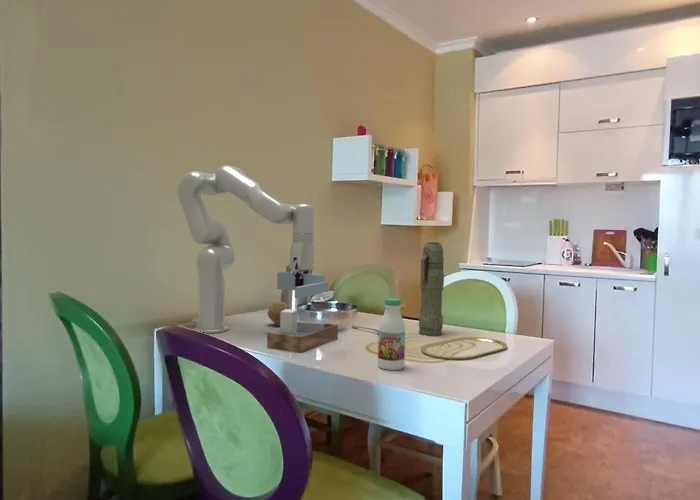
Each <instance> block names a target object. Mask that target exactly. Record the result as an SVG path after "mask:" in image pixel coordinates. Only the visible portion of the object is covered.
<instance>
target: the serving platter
mask: <svg viewBox="0 0 700 500" xmlns="http://www.w3.org/2000/svg"><path fill="white" fill-rule="evenodd" d="M463 340H473V341H472V342H482V341H486V342H485V343H489V342H493V343H492V344H494V343H497V344H500V345H502V346H503V348H502V347H500V348H497V349H494V350H489V351H485V352H481V353H478V354H477V353H476V354H473V355H469V356H468V355H467V356H449V355H440V354H435V353H431V352H427V350H426V349H427V348H430V347H434V346H439V345H444V344H448V343H452V342H457V341H463ZM463 342H464V341H463ZM497 344H496V345H497ZM500 345H499V346H500ZM444 346H445V345H444ZM507 346H508V343H506V342H504V341H502V340H498V339H493V338H489V337H482V336H480V337H478V336H462V337H461V336H460V337H455V338H451V339H446V340H442V341H437V342H431V343H428V344H427V343H426V344H424V345H422V346H421V348H420V349H421V351H422V352H423V353H424V354H425V355H426V354H427V356H429V357H431V356H432V358H435V357H436V358H437V359H440V358H442V359H441V360H449V359H451V361H454V360H455V361H463V360H464V359H466V360H471V358H472V359H475V357H476V358H480V357H482V356H486V355H490V353H491V354H494V352H495V353H498V351H499V352H502V351H504V350H505V349H506V348H507ZM425 350H426V352H425ZM464 361H465V360H464Z"/></svg>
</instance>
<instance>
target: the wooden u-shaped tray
mask: <svg viewBox="0 0 700 500" xmlns="http://www.w3.org/2000/svg"><path fill="white" fill-rule="evenodd" d="M327 323H328V322H325V324H324V328H323V329H320V330H317V331H314V332H311V333H305V334H303V335H297V336H295V335H288V334H281V333H280V332H272V331H268V332H267V336H266V337H267V338H266V339H267V340H266V341H267V343H266V346H267V347H266V348H267V349H274V350H280V351H281V350H282V351H285V352H286V351H288V352H293V353H300V354H301V353H304V352H307V351H310V350H313V349H315V348H317V347H320V346H322V345H325V344H328V343H330V342H333V341H335V340H337V339H339V338H338V337H339V325H338V324H335V323H329V324H327Z"/></svg>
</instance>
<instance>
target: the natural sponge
mask: <svg viewBox="0 0 700 500" xmlns="http://www.w3.org/2000/svg"><path fill="white" fill-rule="evenodd" d="M286 309H290V307H289V306H288V304H287V303H286V302H284V301H282V300H276V301H273V303H271V305H270V306H269V309H268V311H267V316H268V319H270V321H271V322H272V323H273V324H274V325H276V326H278V327H280V312H281V311H283V310H286Z"/></svg>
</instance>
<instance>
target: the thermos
mask: <svg viewBox="0 0 700 500" xmlns="http://www.w3.org/2000/svg"><path fill="white" fill-rule="evenodd" d="M444 260H445V259H444V249H443V245H442V243H440V242H435V241H434V242H432V241H430V242H426V243H424V245H423V249H422V255H421V259H420V283H419V286H420V287H419V288H420V295H421V296H420V313H419V316H418V327H419V331H418V333H419V335H421V336H424V335H426V337H440V336H442V335H443V331H442V330H443V321H444V320H443V319H444V317H443V314H442V310H443V309H442V305H443V291H444V287H445V285H444V283H445V281H444V280H445V274H444ZM441 334H442V335H441ZM439 335H440V336H439Z"/></svg>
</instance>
